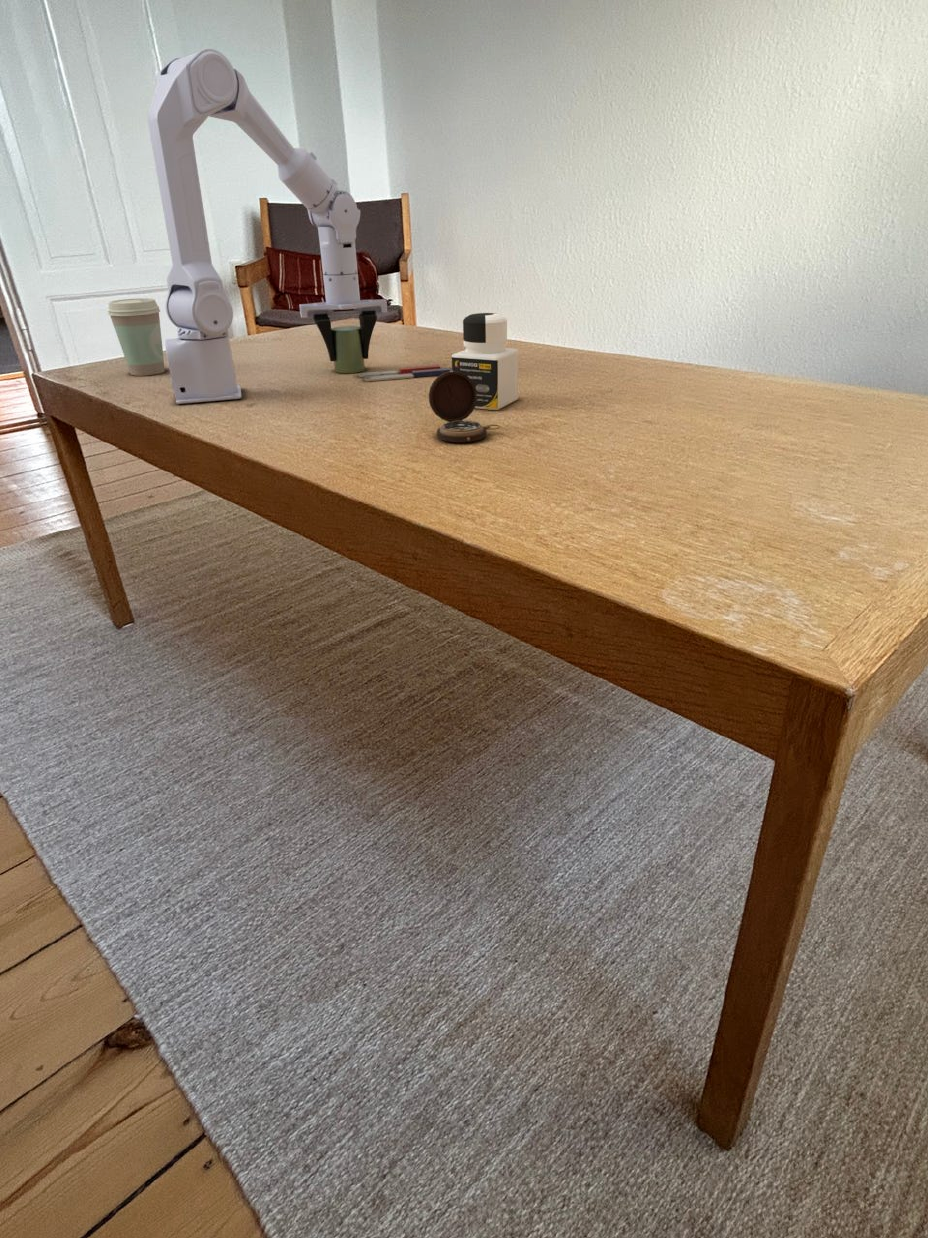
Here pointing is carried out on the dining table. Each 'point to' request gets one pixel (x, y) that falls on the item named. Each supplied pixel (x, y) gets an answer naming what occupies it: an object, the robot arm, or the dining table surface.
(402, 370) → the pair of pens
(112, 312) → the coffee cup
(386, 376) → the knife
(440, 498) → the dining table surface
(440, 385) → the compass
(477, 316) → the medicine bottle
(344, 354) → the can
